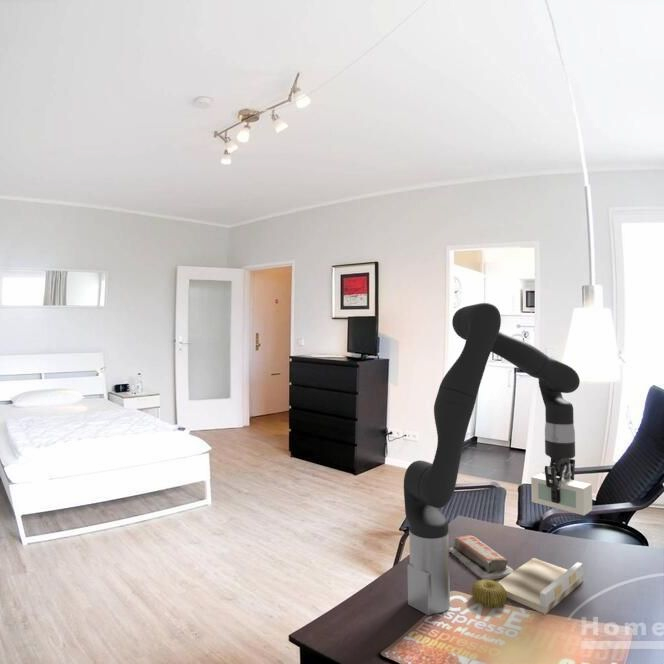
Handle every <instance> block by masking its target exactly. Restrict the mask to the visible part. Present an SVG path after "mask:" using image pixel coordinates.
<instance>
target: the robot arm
mask: <svg viewBox="0 0 664 664" xmlns="http://www.w3.org/2000/svg"><path fill="white" fill-rule="evenodd" d="M500 312H501V311H500V310H499V308H498V307H497V306H496V305H494V304H493V303H490V302H481V303H480V302H479V303H476V304H471V305H466V306H464V307H461V308H459V309H457V310H456V312H454V314H453V315H452V324H451V325H452V328H453V330H454V333H455V334H456V335H457V336H458V337H459V338H461V339H463V340H465V342H464V346H463V348H462V351H461V353H460V355H459V356H458V358H457V359H456V360H455V362H454V363H453V364H452V365H451V366H450V368H449V370H448V371H447V372H446V374H445V375H444V377H443V378H442V380H441V382H440V385H439V388H438V391H437V394H436V397H435V401H434V406H433V415H434V424H435V428H436V433H437V435H436V436H437V446H436V449H435V450H436V451H435V454H434V458H433V461H432V462H428V461H425V460H415V461H413V462H411V463H410V464H409V466H408V467H407V468H406V471H405V473H404V477H403V499H404V510H405V512H404V513H405V518H406V519H407V523H408V530H409V531H408V535H409V536H408V537H409V563H408V564H407V566H406V567H407V568H406V569H407V570H406V571H407V572H406V573H407V604H408V606H410V607H412V608H414V609H416V610H417V611H420V612H421V613H423V614H425V615H426V616H430V615H433V614H440V613H441V614H442V613H445V612H446V611H447V610H448V609H449V608H450V607H451V602H450V601H451V596H450V595H451V593H450V591H451V589H450V552H449V548H450V546H449V544H450V542H449V538H450V537H449V522H448V519H447V517H446V515H444V514H443V513H442V512H441V510H440V509H441V508H443V507H446V505H447V504H448V503H449V502H450V501H451V499H452V497H453V495H454V492H455V489H456V486H457V480H458V476H459V475H458V474H459V468H460V462H461V458H462V453H463V449H464V448H463V447H464V443H465V439H466V436H467V432H468V428H469V425H470V422H471V418H472V415H473V412H474V408H475V405H476V402H477V397H478V393H479V388H480V386H481V383H482V379H483V376H484V373H485V370H486V366H487V363H488V361H489V357H490V355H491V353H493V354H495V355H497V356H498V357H500V358H502V359H504V360H505V361H508V362H509V363H511V364H512V365H513V366H515V367H516V368H518V369H520V370H521V371H523V372H524V373H526V374H527V375H529V376H530V377H532V378H535V379H538V386H539V390H540V394H541V397H542V400H543V401H542V402H543V404H544V407H545V410H544V411H545V424H544V453H545V455H546V456H547V457H549V458H550V462H549V465H545V466H544V474H545V477H546V486H547V487H549V488H551V501H552V502H554V503H560V487H561V482H563V480H564V478H565V479H568V480H569V479H570V480H575V471H576V470H575V467H576V460H575V459H574V458H575V457H576V433H575V432H576V431H575V430H576V429H575V425H574V423H575V422H574V406H573V404H572V403H571V402H570V401H567V400H566V399H564V398H563V394H571V393H574V392H575V391H576V390H577V389H578V388H579V386H580V376H579V374H578V373H577V371H576V370H575V369H574V368H573V367H571V366H569V364H565V363H564V362H561V361H559V360H557V359H554V358H552V357H550V356H548V355H547V354H545V353H544V352H543V351H541V350H540V349H538V348H537V347H535V346H534V345H532V344H531V343H528V342H526V341H525V340H522V339H520V338H519V339H518V338H516V337H514V336H510V335H508V334H506V333H504V332H501V331H500V330H501V324H502V318H501V313H500ZM558 477H559V478H558ZM557 481H558V482H557ZM439 508H440V509H439Z"/></svg>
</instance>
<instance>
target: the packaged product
mask: <svg viewBox="0 0 664 664" xmlns="http://www.w3.org/2000/svg"><path fill="white" fill-rule="evenodd" d="M453 541H454V543H453V547H452V546H451V547H450V546H449V551H450V552H451V553H452V554H451V553H450V552H449V553H450V554H451V555H453V556H454V555H455V556H456V557H457V558H458V559H459V560H458V559H457V558H456V557H455V556H454V557H455V558H456V559H457V560H458V561H459V562H460V563H461V564H463V563H464V564H465V565H466V566H465V565H464V564H463V565H464V566H465V567H467V568H468V569H469V570H470V571H471V572H473V574H475V575H476V576H478V577H479V578H481V580H482V579H483V580H484V579H488V580H493V581H494V580H498V579H503V578H505V577H506V576H508V575H509V574H510V573H512V572H513V571H515V570H514V569H513V568H512V567H511V566H509V565H508V562H509V561H508V560H507V559H506V558H505V557H504V556H502V555H501V554H499V553H498V552H497V551H495V550H494V549H492V548H491V547H490V546H488V545H487V544H485V543H484V542H483V541H481V540H480V539H479V538H477V537H476V536H474V535H471V534H467V535H461V536H456V537H454V539H453Z"/></svg>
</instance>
